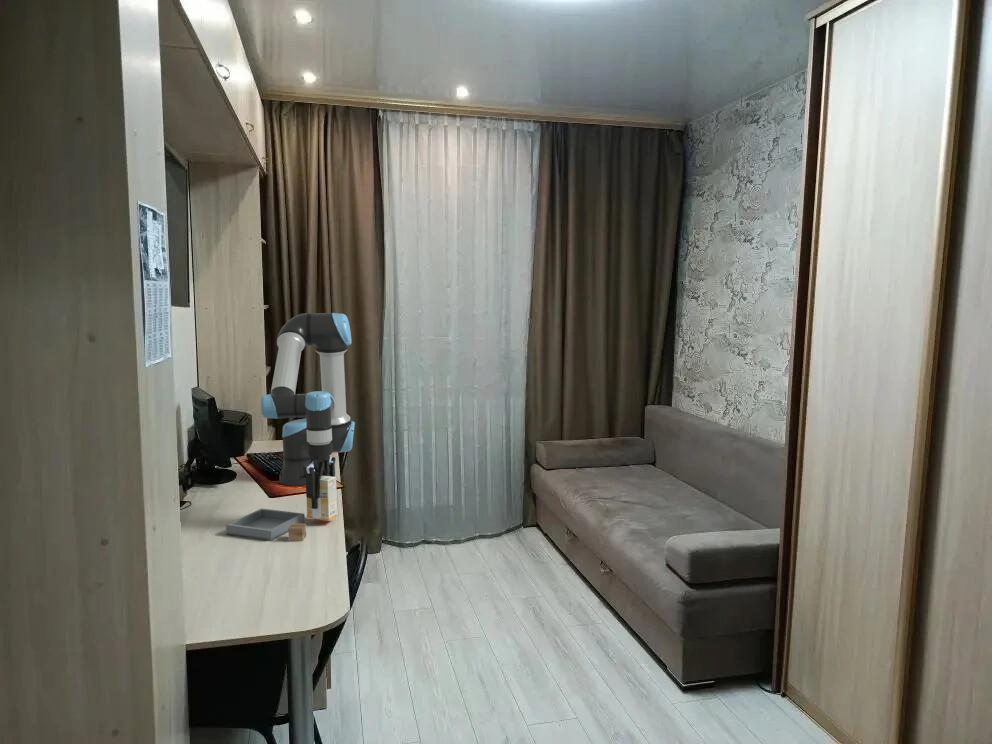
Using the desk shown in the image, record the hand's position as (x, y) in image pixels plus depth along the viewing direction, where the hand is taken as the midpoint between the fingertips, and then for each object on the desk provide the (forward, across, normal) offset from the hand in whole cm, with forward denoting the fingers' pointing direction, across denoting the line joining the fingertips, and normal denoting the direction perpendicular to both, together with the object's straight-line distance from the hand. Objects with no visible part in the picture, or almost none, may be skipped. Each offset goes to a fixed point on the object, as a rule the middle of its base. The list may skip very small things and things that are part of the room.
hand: (322, 514), depth 205 cm
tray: (+2, +10, -13) cm, 17 cm away
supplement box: (+1, 0, 0) cm, 1 cm away
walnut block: (+2, +14, +1) cm, 15 cm away
